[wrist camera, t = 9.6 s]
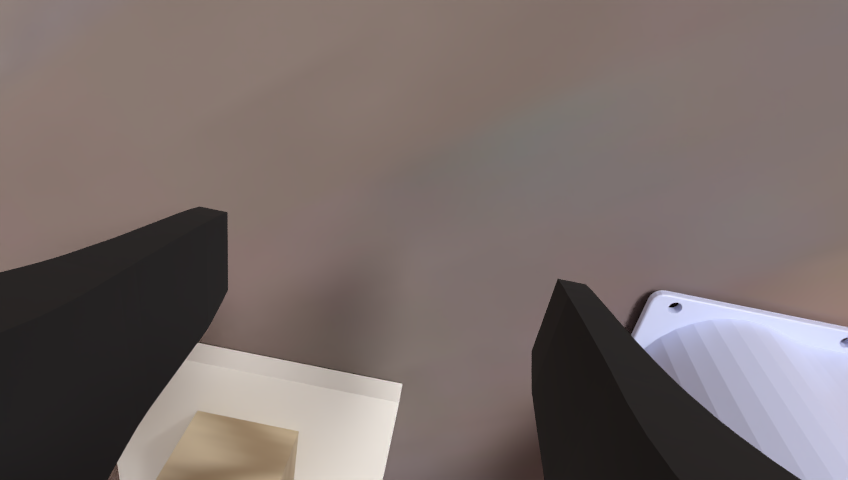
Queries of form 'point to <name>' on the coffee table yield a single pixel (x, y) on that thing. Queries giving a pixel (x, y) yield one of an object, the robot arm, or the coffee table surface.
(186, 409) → the ceramic tile
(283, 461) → the maple cube
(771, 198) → the coffee table surface
